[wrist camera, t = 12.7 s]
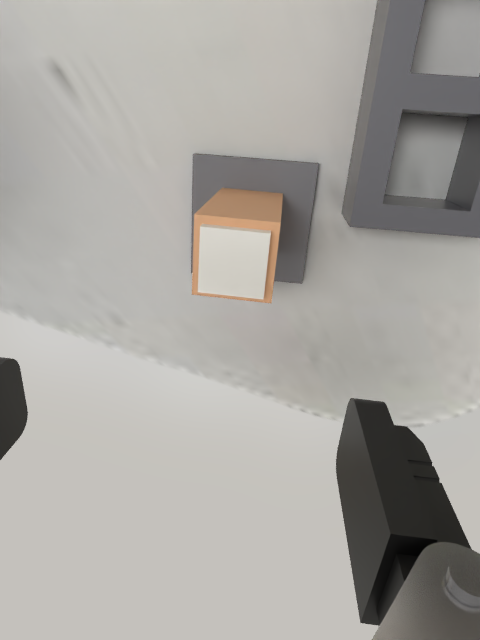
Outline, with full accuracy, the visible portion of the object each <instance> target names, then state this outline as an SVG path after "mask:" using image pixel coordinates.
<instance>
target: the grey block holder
mask: <svg viewBox="0 0 480 640" xmlns="http://www.w3.org/2000/svg"><path fill="white" fill-rule="evenodd" d="M424 4H425V0H378V1H377V6H376V12H375V18H374V24H373V30H372V36H371V42H370V48H369V54H368V60H367V66H366V72H365V78H364V83H363V89H362V95H361V101H360V107H359V113H358V119H357V125H356V131H355V137H354V143H353V149H352V155H351V160H350V166H349V172H348V178H347V184H346V190H345V196H344V202H343V208H342V215H343V216H344V218H345V220H346V221H347V223H348V225H349V226H350V227H362V228H373V229H384V230H396V231H407V232H419V233H430V234H441V235H453V236H464V237H476V238H480V75H479V77H466V76H450V75H435V74H419V73H410V71H411V66H412V61H413V57H414V52H415V47H416V42H417V38H418V33H419V28H420V23H421V18H422V14H423V9H424ZM402 112H404V113H418V114H433V115H447V116H462V117H468V120H467V123H466V127H465V131H464V134H463V138H462V142H461V145H460V149H459V153H458V156H457V160H456V164H455V167H454V171H453V175H452V178H451V182H450V186H449V190H448V193H447V197H446V200H441V199H429V198H417V197H405V196H393V195H385V191H386V186H387V181H388V176H389V172H390V167H391V162H392V157H393V152H394V148H395V143H396V138H397V133H398V128H399V124H400V119H401V114H402Z"/></svg>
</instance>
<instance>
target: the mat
mask: <svg viewBox="0 0 480 640" xmlns="http://www.w3.org/2000/svg"><path fill="white" fill-rule="evenodd" d="M318 165H319V164H318V163H310V162H297V161H284V160H271V159H259V158H246V157H233V156H220V155H207V154H193V187H192V251H191V273H193V241H194V214H195V213H196V212H197V211H198V210H199V209H200V208H201V207H202V206H203V205H204V204H206V203H207V202H208V201H209V200H210V199H211V198H212V197H213V196H214V195H215V194H216V193H217V192H218V191H219V190H220V189H221V188H231V189H241V190H252V191H262V192H273V193H283V200H282V214H281V225H280V234H279V242H278V251H277V259H276V268H275V276H274V281H280V282H290V283H301V284H302V281H303V274H304V267H305V259H306V252H307V245H308V238H309V230H310V223H311V216H312V209H313V201H314V194H315V187H316V180H317V173H318Z"/></svg>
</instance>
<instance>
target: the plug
mask: <svg viewBox="0 0 480 640" xmlns="http://www.w3.org/2000/svg"><path fill="white" fill-rule="evenodd" d="M282 200H283V193H273V192H262V191H252V190H241V189H231V188H221V189H220V190H219V191H218V192H217V193H216V194H215V195H214V196H213V197H212V198H211V199H210V200H209V201H208V202H207V203H206V204H204V205H203V206H202V207H201V208H200V209H199V210H198V211H197V212H196V213H195V214H194V241H193V276H192V295H201V296H210V297H219V298H228V299H237V300H246V301H255V302H264V303H271V301H272V293H273V284H274V276H275V268H276V259H277V251H278V242H279V234H280V225H281V214H282Z"/></svg>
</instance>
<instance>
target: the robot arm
mask: <svg viewBox="0 0 480 640" xmlns="http://www.w3.org/2000/svg"><path fill="white" fill-rule="evenodd" d="M27 413H28V412H27V405H26V400H25V394H24V389H23V382H22V377H21V372H20V366H19V364H18V362H17V361H16V360H14V359H10V358H1V357H0V460H1V459H2V457H3V456H4V455H5V454H6V453H7V451H8V450H9V449H10V448H11V446H13V444H14V443H15V442H16V441H17V440H18V438H19V437H20V436H21V434H22V433H23V430H24V428H25V426H26V422H27V415H28V414H27ZM336 473H337V481H338V486H339V493H340V499H341V506H342V512H343V518H344V524H345V530H346V535H347V542H348V548H349V555H350V560H351V567H352V573H353V579H354V585H355V592H356V598H357V603H358V610H359V616H360V622H361V623H365V624H372V625H379V628H378V630H377V632H376V633H375V635H374V637H373V639H372V640H480V554H479V553H477V552H475V551H473V550H472V549H471V547H470V545H469V543H468V541H467V539H466V536H465V534H464V532H463V530H462V527H461V525H460V523H459V521H458V519H457V517H456V514H455V512H454V510H453V508H452V505H451V503H450V501H449V499H448V497H447V494H446V492H445V490H444V488H443V486H442V483H439V477H438V475H437V472H436V470H435V468H434V467H433V466H432V462H431V459H430V457H429V455H428V453H427V450H426V448H425V446H424V444H423V443H422V442H421V441H420V440H419V439H418V438H417V437H416V435H415V434H414V433H413V432H412V431H411V430H410V429H409V428H408V427H405V426H396V425H394V424H393V421H392V419H391V416H390V413H389V411H388V408H387V406H386V404H385V403H384V402H381V401H372V400H363V399H354V398H351V399H350V401H349V403H348V406H347V410H346V415H345V419H344V423H343V428H342V433H341V437H340V441H339V445H338V451H337V459H336Z"/></svg>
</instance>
